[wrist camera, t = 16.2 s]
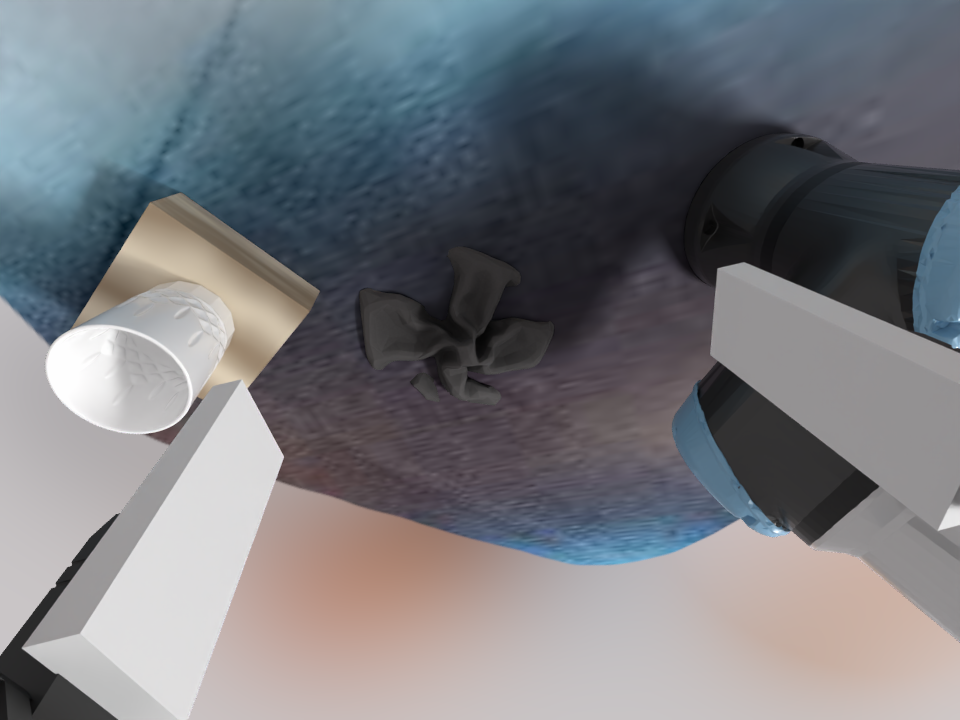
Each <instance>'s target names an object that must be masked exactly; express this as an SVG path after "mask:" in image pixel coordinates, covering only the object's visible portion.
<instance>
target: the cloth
mask: <svg viewBox="0 0 960 720" xmlns="http://www.w3.org/2000/svg"><path fill="white" fill-rule="evenodd" d="M448 258H449V259H450V261H451V264H452V266H453V269H454V274H455V277H454V288H453V292H452V296H451V299H450V305H449V309H448V315H447V317H446V319H445V320H438V319H436V318H434V317H432V316H429V314H428V313H427V312H426V310H425V308H424V306H423V305H421V304H420V303H418V302H416V301H414V300H413V299H410V298H407V297H404V296H403V295H401V294H393V293H383V292H380V291H376V290H373V289H371V288H366V289H363V290H361V291H360V293H359V299H360V309H361V319H362V327H363V335H364V342H365V350H366V355H367V358H368V360H369V362H370V364H371V366H372V367H373V368H374V369H376V370H382V369H383V368H385V367H386V366H387V365H388V364H389V363H391V362H393V361H400V360H401V361H415V360H422V359H425V358H428V357H430V356H432V357H435V359H436V363H437V370H438V375H439V378H440V381H441V383H442V385H443V386H444V387H445V389H446V390H447V391H448V392H450V394H451V395H452V396H454V397H456V398H458V399H459V400H463V401H466V400H467V401H468V402H472V403H480V404H488V405H496V404H497V402H498V401H499V400H500V399H501V395H500V393H499V392H498V391H497V390H496V389H494V388H493V387H491V386H487V385H482V384H480V383H478V382H476V381H474V380H473V379H468V378H467V371H471V372H476V373H481V374H485V375H489V374H499V373H503V372H507V371H513V370H521V369H528V368H533V367H534V366H536V365H537V364H538V363H539V362H540V360H541V359H542V357H543V356H544V354H545V352H546V350H547V347H548V345H549V343H550V341H551V339H552V337H553V334H554V325H553V324H552V323H551V321H549V322H534V321H529V320H525V319H520V318H511V317H510V318H506V319H502V320H498V321H494V320H491V319H492V317H493V314H494V311H495V309H496V307H497V305H498V303H499V300H500V298H501V296H502V293H503V290H504V288H505V287H510V286H516V285H518V284H519V283H520V282H521V275H520V273H519V272H518V271H517V270H516V269H515V268H513V267H512V266H510V265H508V264H507V263H505V262H503V261H500V260H497V259H494V258H492V257H490V256H488V255H486V254H484V253H481V252H479V251H476V250H473V249H470V248H467V247H455V248H452V249H450V250H449V252H448ZM410 382H411V383H412V384H413V385H414V386H415V387H416V388H417V390H418V391H419V392H420V393H421V394H422V395H423V396H424V397H425V398H426V399H428V400H432V401H436V402H439V401H440V399H439V397H438V393H437V388H436V386H435V385H434V378H432V377H430V376H429V375H427V374H426V373H420V374H417V375H416V376H415V377H414V378H413V379H412V380H411V381H410Z"/></svg>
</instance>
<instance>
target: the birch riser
mask: <svg viewBox="0 0 960 720" xmlns="http://www.w3.org/2000/svg"><path fill="white" fill-rule="evenodd" d="M174 281H184V282H188V283H193V284H198V285H201V286H203V287H205V288H206V289H208V290H209V291H211V292H213V293H214V294H216V295H218V296H219V297H220V298H221V299H222V301H223V302H224V303H225V305H226V306H227V307H228V309H229V310H230V311H231V313H232V318H233V323H234V327H235V331H234V334H233V336H232V339H231V342H230V344H229V346H228V348H227V349H226V350H225V352H224V354H223V356H222V358H221V360H220V362H219V363H218V365H217V366H216V368H215V370H214V371H213V373H212V375H211V377H210V378H209V380H208V381H207V383H206V384H205V386H204V387H203V389H202V390H201V392H200V393H199V395H198V396H197V397H199V398H201V399H204V398H205V396H206V395H207V394H208V392H209V391H210V390H211V388H212V387H213V386H215V385H219V384H223V383H228V382H232V381H236V380H241V379H242V380H243V382H244V384H245V386H246V387H247V388H248V387H249V386H250V384H251V383H252V382H253V381H254V379H255V378H256V377H257V376H258V375H259V373H260V372H261V371H262V370H263V368H264V367H265V366H266V365H267V363H268V362H269V361H270V360H271V358H272V357H273V356H274V355H275V354H276V352H277V351H278V350H279V349H280V347H281V346H282V345H283V344H284V342H285V341H286V340H287V339H288V337H289V336H290V335H291V334H292V333H293V331H294V330H295V329H296V328H297V326H298V325H299V324H300V323H301V321H302V320H303V319H304V318H305V317H306V315H307V314H308V313H309V312H310V310H311V308H312V306H313V304H314V302H315V300H316V298H317V296H318V294H319V292H320V291H319V290H318V289H316V288H315V287H314V286H312V285H311V284H309V283H308V282H307V281H305V280H304V279H302V278H301V277H300V276H298V275H297V274H295V273H294V272H292V271H291V270H290V269H288V268H287V267H285V266H284V265H283V264H281V263H280V262H278V261H277V260H276V259H274V258H273V257H271V256H270V255H269V254H267V253H266V252H264V251H263V250H262V249H260V248H259V247H257V246H256V245H255V244H253V243H252V242H250V241H249V240H247V239H246V238H245V237H243V236H242V235H240V234H239V233H238V232H236V231H235V230H233V229H232V228H231V227H229V226H228V225H226V224H225V223H224V222H222V221H221V220H219V219H218V218H217V217H215V216H214V215H212V214H211V213H209V212H208V211H207V210H205V209H204V208H202V207H201V206H200V205H198V204H197V203H195V202H194V201H193V200H191V199H190V198H188V197H187V196H186V195H184V194H183V193H178V194H175V195H171V196H168V197H165V198H162V199H159V200H156V201H153V202H150V203H149V205H148V207H147V208H146V210H145V211H144V213H143V215H142V216H141V218H140V219H139V221H138V223H137V224H136V226H135V227H134V229H133V231H132V232H131V234H130V235H129V237H128V239H127V240H126V242H125V244H124V245H123V247H122V248H121V250H120V252H119V253H118V255H117V256H116V258H115V260H114V261H113V263H112V264H111V266H110V268H109V269H108V271H107V272H106V274H105V276H104V277H103V279H102V280H101V282H100V284H99V285H98V287H97V288H96V290H95V292H94V293H93V295H92V296H91V298H90V300H89V301H88V303H87V304H86V306H85V308H84V309H83V311H82V312H81V314H80V316H79V317H78V319H77V321H76V322H75V324H74V325H73V327H72V329H73V328H75V327H77V326H79V325H81V324H82V323H84V322H86V321H88V320H90V319H92V318H94V317H95V316H97V315H99V314H101V313H103V312H105V311H106V310H108V309H110V308H112V307H114V306H116V305H118V304H120V303H122V302H124V301H126V300H128V299H130V298H132V297H134V296H136V295H139V294H141V293H144V292H147V291H148V290H150V289H152V288H154V287H155V286H157V285H159V284H164V283H169V282H174Z"/></svg>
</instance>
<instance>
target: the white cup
mask: <svg viewBox="0 0 960 720" xmlns="http://www.w3.org/2000/svg"><path fill="white" fill-rule="evenodd" d="M234 331H235V327H234V323H233V318H232V313H231V311H230V310H229V309H228V307H227V306H226V305H225V303H224V302H223V301H222V299H221V298H220V297H219V296H218V295H216V294H214V293H213V292H211V291H209V290H208V289H206V288H205V287H203V286H201V285H198V284H193V283H188V282H184V281H174V282H169V283H164V284H159V285H157V286H155V287H154V288H152V289H150V290H148V291H147V292H144V293H141V294H139V295H136V296H134V297H132V298H130V299H128V300H126V301H124V302H122V303H120V304H118V305H116V306H114V307H112V308H110V309H108V310H106V311H105V312H103V313H101V314H99V315H97V316H95V317H94V318H92V319H90V320H88V321H86V322H84V323H82V324H81V325H79V326H77V327H75V328H73V329H71V330H69V331H67V332H65V333H64V334H62V335H61V336H60V337H58V338H57V339H56V340H55V341H54V342H53V344H52V345H51V346H50V348H49V350H48V352H47V355H46V360H45V371H46V376H47V379H48V382H49V384H50V386H51V388H52V390H53V392H54V393H55V395H56V396H57V397H58V399H59V400H60V401H61V402H62V403H63V404H64V405H65V406H66V407H67V408H68V409H70V410H71V411H72V412H73V413H75V414H76V415H78V416H79V417H81V418H82V419H84V420H86V421H88V422H90V423H92V424H94V425H96V426H99V427H101V428H104V429H108V430H111V431H115V432H121V433H127V434H147V433H153V432H158V431H161V430H164V429H167V428H169V427H171V426H173V425H174V424H176V423H177V422H178V421H180V420H181V419H182V418H183V417H184V416H185V414H186V413H187V411H188V410H189V408H190V407H191V405H192V404H193V402H194V401H195V399H196V398H197V396H198V395H199V393H200V392H201V390H202V389H203V387H204V386H205V384H206V383H207V381H208V380H209V378H210V377H211V375H212V373H213V371H214V370H215V368H216V366H217V365H218V363H219V362H220V360H221V358H222V356H223V354H224V352H225V350H226V349H227V348H228V346H229V344H230V342H231V339H232V336H233V334H234Z"/></svg>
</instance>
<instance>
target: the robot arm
mask: <svg viewBox="0 0 960 720" xmlns="http://www.w3.org/2000/svg"><path fill="white" fill-rule="evenodd" d="M684 245H685V252H686V256H687V259H688V262H689V264H690V266H691V268H692V270H693V271H694V273H695V274H696V275H697V276H698V277H699V278H700V279H701V280H702V281H703V282H705V283H706V284H708V285H710V286H711V287H713V288H715V289H716V292H715V304H714V316H713V328H712V340H711V351H710V355H711V356H712V357H714V358H715V359H716V360H718V362H717V363H716V364H715V365H714V366H713V368H712V369H711V370H710V371H709V372H708V373H707V375H706V376H705V377H704V378H703V379H702V380H699V381H698V382H697V383H696V384H695V385H694V387H693V391H692V393H691V394H690V395H689V397H688V398H687V399H686V401H685V402H684V403H683V405H682V406H681V407H680V409H679V410H678V411H677V413H676V414H675V416H674V419H673V422H672V432H673V438H674V440H675V443H676V446H677V448H678V450H679V452H680V454H681V456H682V458H683V459H684V461H685V462H686V464H687V466H688V467H689V468H690V470H691V471H692V472H693V474H694V475H695V476H696V478H697V479H698V480H699V481H700V482H701V484H702V485H703V486H704V487H705V488H706V489H707V490H708V491H709V493H710V494H711V495H712V496H713V497H714V498H715V499H716V500H717V501H718V502H719V503H720V504H721V505H722V506H723V507H724V508H726V509H727V510H728V511H729V512H730V513H731V514H733V515H734V516H735V517H737V518H741V519H742V520H743V521H744V522H745V523H746V524H747V526H748V527H750V528H752V529H753V530H755V531H756V532H758V533H760V534H763V535H766V536H769V537H778V536H780V535H787V534H788V533H789V532H790V531H792V532H794V533H795V534H796V535H797V536H798V537H799V538H800V539H802V540H803V541H804V542H805V543H806V544H807V545H809V546H810V547H811V548H812V549H814V550H818V551H829V552H837V553H845V554H849V555H851V556H855V557H857V558H858V559H860V561H862V562H863V563H864V564H865V565H867V566H868V567H869V568H870V569H871V570H873V571H874V572H875V573H876V574H877V575H879V576H880V577H881V578H882V579H884V580H885V581H886V582H887V583H888V584H890V585H891V586H892V587H893V588H894V589H896V590H897V591H898V592H899V593H900V594H902V595H903V596H904V597H905V598H907V599H908V600H909V601H910V602H912V603H913V604H914V605H915V606H916V607H917V608H919V609H920V610H921V611H922V612H924V613H925V614H926V615H927V616H928V617H930V618H931V619H932V620H933V621H934V622H936V623H937V624H938V625H939V626H940V627H942V628H943V629H944V630H945V631H947V632H948V633H949V634H950V635H951V636H953V637H954V638H955V639H956V640H957V641H959V642H960V170H948V169H936V168H923V167H911V166H899V165H887V164H875V163H863V162H858V161H857V160H855V159H853V158H852V157H850V156H848V155H847V154H845V153H844V152H842V151H840V150H839V149H837V148H835V147H834V146H832V145H830V144H829V143H827V142H825V141H824V140H822V139H819V138H817V137H813V136H809V135H804V134H785V133H778V134H770V135H765V136H761V137H758V138H756V139H753V140H751V141H749V142H746V143H745V144H743V145H741V146H739V147H738V148H736V149H735V150H733V151H732V152H731V153H729V154H728V155H727V156H726V157H724V158H723V159H722V160H721V161H720V162H719V163H718V164H717V165H716V166H715V167H714V168H713V170H712V171H711V172H710V173H709V174H708V176H707V177H706V178H705V180H704V181H703V183H702V184H701V186H700V187H699V189H698V191H697V193H696V195H695V197H694V199H693V201H692V203H691V206H690V209H689V212H688V215H687V219H686V224H685V231H684ZM283 458H284V456H283V454H282V452H281V451H280V449H279V447H278V445H277V443H276V441H275V439H274V438H273V436H272V434H271V432H270V430H269V428H268V426H267V425H266V423H265V421H264V419H263V417H262V415H261V413H260V412H259V410H258V408H257V406H256V404H255V402H254V400H253V399H252V397H251V395H250V393H249V391H248V389H247V387H246V386H245V384H244V382H243V380H242V379H241V380H236V381H232V382H228V383H223V384H219V385H215V386H213V387H212V388H211V390H210V391H209V392H208V394H207V395H206V396H205V398H204V399H203V400H202V402H201V403H200V405H199V406H198V407H197V409H196V410H195V411H194V413H193V414H192V416H191V417H190V418H189V420H188V421H187V422H186V424H185V425H184V427H183V428H182V429H181V431H180V432H179V433H178V435H177V436H176V437H175V439H174V440H173V442H172V443H171V444H170V446H169V447H168V448H167V450H166V451H165V453H164V454H163V455H162V457H161V458H160V459H159V461H158V462H157V464H156V465H155V466H154V468H153V469H152V471H151V472H150V473H149V474H148V476H147V477H146V479H145V480H144V481H143V483H142V484H141V486H140V487H139V488H138V490H137V491H136V492H135V494H134V495H133V496H132V498H131V499H130V501H129V502H128V503H127V505H126V506H125V507H124V509H123V510H122V512H121V513H119V514H116V515H115V516H114V517H112V518H111V519H110V520H109V521H108V522H107V523H106V524H105V525H104V526H102V528H100V529H99V530H98V531H97V532H96V533H95V534H94V535H92V536H91V537H90V538H89V540H88V541H87V542H86V544H85V545H84V546H83V548H82V549H81V550H80V552H79V553H78V554H77V555H76V557H75V558H74V559H73V561H72V566H70V567H67V569H66V570H65V572H64V573H63V574H62V575H61V577H60V578H59V579H58V581H57V582H56V587H55V588H52V589H51V590H50V591H49V593H48V594H47V595H46V596H45V598H44V599H43V600H42V602H41V603H40V604H39V606H38V607H37V608H36V609H35V611H34V612H33V614H32V615H31V616H30V617H29V619H28V620H27V621H26V623H25V624H24V625H23V627H22V628H21V629H20V631H19V632H18V633H17V634H16V636H15V637H14V638H13V640H12V641H11V642H10V644H9V645H8V646H7V648H6V649H5V650H4V652H3V653H2V654H1V656H0V720H188V718H189V715H190V713H191V710H192V707H193V705H194V701H195V699H196V696H197V693H198V691H199V688H200V685H201V682H202V680H203V677H204V674H205V672H206V669H207V666H208V664H209V661H210V658H211V655H212V652H213V650H214V647H215V644H216V641H217V639H218V636H219V633H220V631H221V628H222V625H223V622H224V620H225V617H226V614H227V612H228V609H229V606H230V603H231V601H232V598H233V595H234V592H235V589H236V586H237V584H238V581H239V579H240V576H241V573H242V571H243V568H244V565H245V562H246V559H247V557H248V554H249V551H250V549H251V546H252V543H253V540H254V538H255V535H256V532H257V530H258V527H259V524H260V521H261V518H262V516H263V513H264V510H265V508H266V505H267V502H268V499H269V497H270V494H271V491H272V489H273V486H274V483H275V480H276V478H277V475H278V472H279V469H280V467H281V464H282V461H283Z"/></svg>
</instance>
